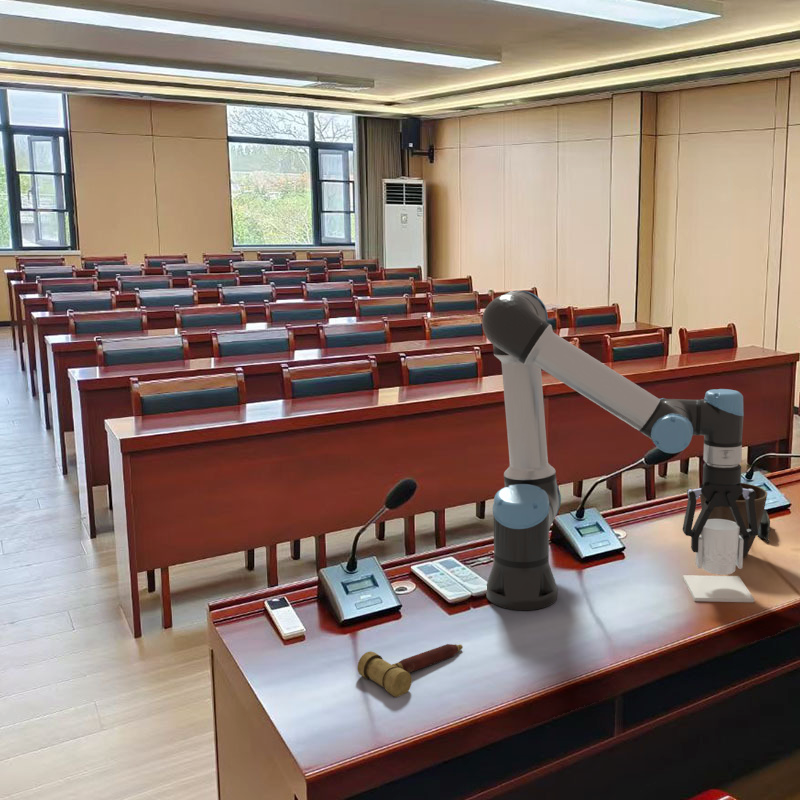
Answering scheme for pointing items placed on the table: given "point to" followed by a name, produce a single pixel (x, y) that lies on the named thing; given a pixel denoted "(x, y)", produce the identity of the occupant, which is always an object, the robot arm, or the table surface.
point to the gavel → (401, 667)
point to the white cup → (720, 546)
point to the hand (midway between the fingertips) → (718, 565)
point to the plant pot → (741, 510)
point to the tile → (717, 588)
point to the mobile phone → (764, 526)
